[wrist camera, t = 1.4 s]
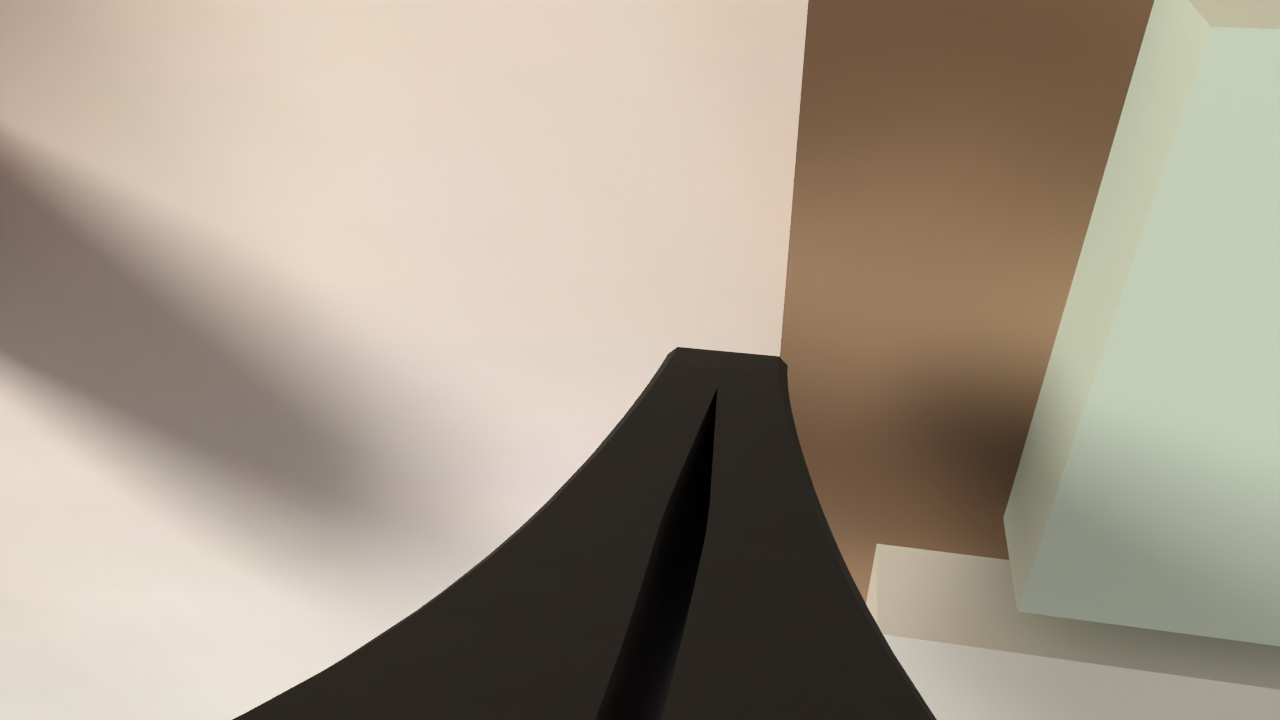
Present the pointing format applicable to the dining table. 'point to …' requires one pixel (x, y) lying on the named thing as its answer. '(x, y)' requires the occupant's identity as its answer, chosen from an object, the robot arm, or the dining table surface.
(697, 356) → the robot arm
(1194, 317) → the pale green block
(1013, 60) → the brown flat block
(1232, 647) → the off-white flat block
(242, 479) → the dining table surface
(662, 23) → the dining table surface
